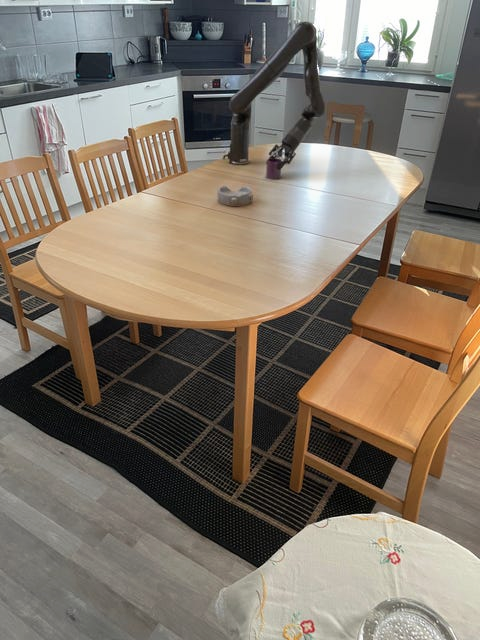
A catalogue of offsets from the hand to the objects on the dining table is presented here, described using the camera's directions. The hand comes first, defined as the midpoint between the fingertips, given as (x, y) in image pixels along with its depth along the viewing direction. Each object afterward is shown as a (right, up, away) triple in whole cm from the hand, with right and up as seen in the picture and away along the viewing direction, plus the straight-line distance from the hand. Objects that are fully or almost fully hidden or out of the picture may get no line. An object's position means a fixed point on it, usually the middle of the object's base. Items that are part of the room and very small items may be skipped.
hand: (272, 166), depth 231 cm
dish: (-17, -23, -27) cm, 40 cm away
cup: (+1, -4, +3) cm, 5 cm away
